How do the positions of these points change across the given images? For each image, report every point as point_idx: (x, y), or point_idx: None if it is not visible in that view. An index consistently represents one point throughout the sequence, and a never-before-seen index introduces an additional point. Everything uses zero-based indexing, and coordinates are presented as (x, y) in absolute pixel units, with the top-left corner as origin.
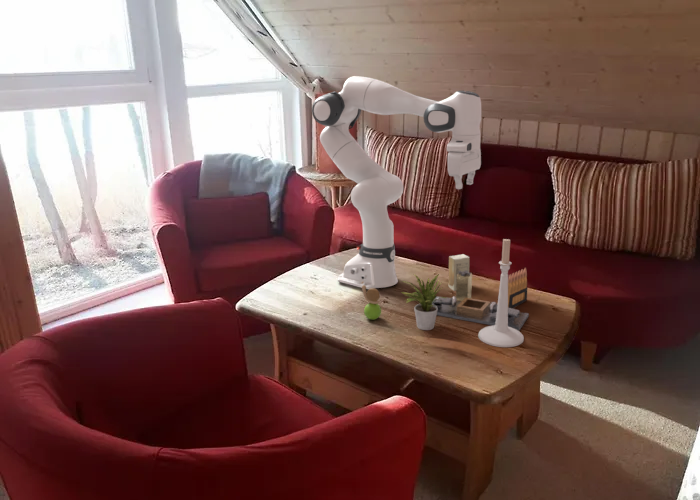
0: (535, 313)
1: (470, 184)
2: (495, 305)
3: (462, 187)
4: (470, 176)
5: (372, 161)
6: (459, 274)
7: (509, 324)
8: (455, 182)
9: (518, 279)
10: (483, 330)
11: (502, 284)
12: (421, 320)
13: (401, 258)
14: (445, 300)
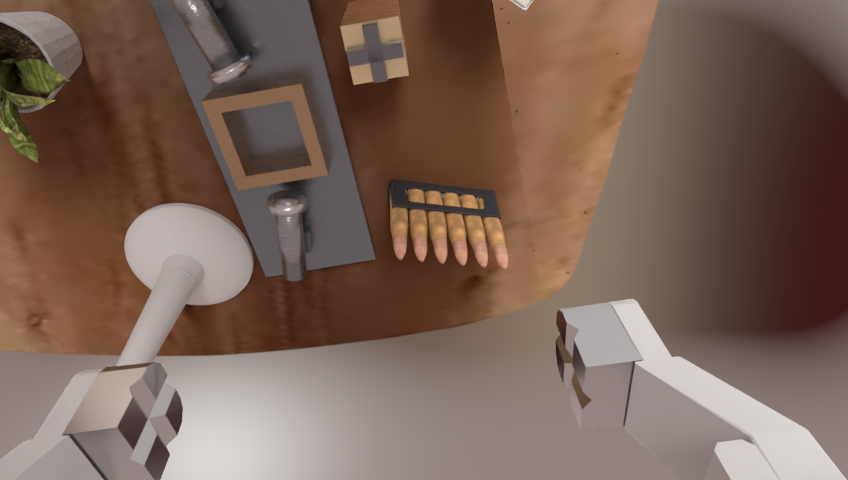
0: (410, 258)
1: (556, 354)
2: (281, 217)
3: (178, 425)
4: (671, 430)
5: None
6: (360, 30)
7: (264, 251)
8: (1, 461)
9: (452, 245)
10: (154, 227)
11: None
12: None
13: None
14: (197, 44)
